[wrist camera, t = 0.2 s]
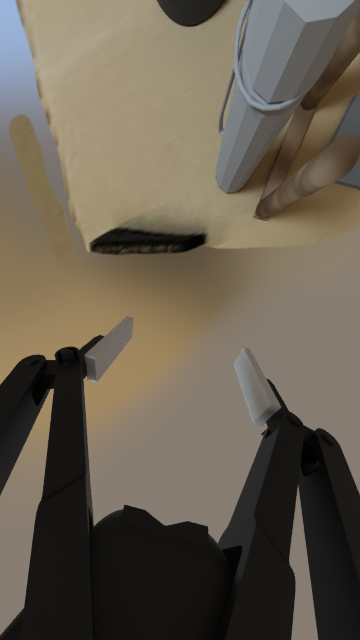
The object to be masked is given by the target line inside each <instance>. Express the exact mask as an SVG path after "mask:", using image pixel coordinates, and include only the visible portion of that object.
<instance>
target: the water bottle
mask: <svg viewBox="0 0 360 640" xmlns="http://www.w3.org/2000/svg"><path fill="white" fill-rule="evenodd" d="M359 8H360V0H247V1H246V3H245V5H244V7H243V9H242V11H241V14H240V19H239V23H238V28H237V32H236V37H235V41H234V68H233V71H232V75H231V78H230V82H229V85H228V89H227V92H226V96H225V99H224V103H223V106H222V110H221V113H220V117H219V134H220V136H221V137H223V140H222V145H221V149H220V154H219V158H218V163H217V170H216V180H217V183H218V185H219V188H220V189H222V190H223V191H224V192H226V193H232V192H236V191H237V190H239V189H240V188H242V187H243V186H244V185H245V183H246V182H247V180H248V179H249V177H250V176H251V174H252V173H253V171H254V170H255V169H256V167H257V166H258V164H259V163H260V161H261V160H262V158H263V157H264V155H265V154H266V152H267V151H268V150H269V148H270V147H271V145H272V144H273V142H274V141H275V139H276V138H277V136H278V135H279V133H280V132H281V131H282V129H283V128H284V126H285V125H286V123H287V122H288V120H289V119H290V117H291V116H292V114H293V113H294V112H295V110H296V109H297V107H298V106H299V104H300V103H301V101H302V100H303V98H304V97H305V95H306V94H307V92H308V91H309V90H310V89H311V88H312V87H313V85H314V84H315V83H316V81H317V80H318V78H319V77H320V76H321V74H322V73H323V72H324V70H325V68H326V67H327V65H328V63H329V62H330V60H331V59H332V56H333V54H334V52H335V50H336V48H337V46H338V44H339V42H340V40H341V38H342V37H343V35H344V33H345V32H346V30H347V28H348V27H349V25H350V23H351V22H352V20H353V18H354V17H355V15H356V13H357V12H358V10H359ZM246 13H247V15H246ZM245 16H246V19H247V22H246V25H245V29H244V32H243V36H242V39H241V43H240V46H239V40H240V34H241V29H242V25H243V22H244V18H245ZM240 56H241V57H240ZM239 60H240V62H239ZM235 75H236V81H235V86H234V91H233V95H232V100H231V104H230V109H229V113H228V118H227V122H226V127H225V130H224V129H223V115H224V110H225V107H226V104H227V100H228V97H229V93H230V90H231V87H232V83H233V80H234V77H235Z"/></svg>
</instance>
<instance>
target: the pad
mask: <svg viewBox="0 0 360 640" xmlns="http://www.w3.org/2000/svg"><path fill="white" fill-rule="evenodd" d="M345 134H354V135H356V136H357V137H358V138H359V140H360V95H356V96H355V97H354V98H353V99H352V101H351V103H350V104H349V106H348V108H347V110H346V112H345V114H344V116H343V118H342V120H341V122H340V124H339V126H338V128H337V130H336V132H335V134H334V136H333V138H332V140H331V142H330V144H331V143H332V142H333V141H334V140H336V139H337V138H339V137H340V136H342V135H345ZM330 144H329V145H330ZM334 183H338V184H341V185H345V186H349V187H352V188H356V189H360V155H359V158H358V160H357V162H356V164H355V166H354V167H353V168H352V170H351V171H350V172H349V173H348V174H347V175H346V176H344V177H343V178H341V179H340V180H338V181H336V182H334Z"/></svg>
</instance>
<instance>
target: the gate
mask: <svg viewBox="0 0 360 640" xmlns="http://www.w3.org/2000/svg"><path fill="white" fill-rule="evenodd" d="M359 52H360V8H359V10H358V12H357V13H356V15H355V17H354V18H353V20H352V22H351V23H350V25H349V27H348V28H347V30H346V32H345V33H344V35H343V37H342V38H341V40H340V42H339V44H338V46H337V48H336V50H335V52H334V54H333V56H332V59H331V60H330V62H329V63H328V65H327V67H326V68H325V70H324V72H323V73H322V74H321V76H320V77H319V78H318V80H317V81H316V83H315V84H314V85H313V87H312V88H311V89H310V90H309V91H308V92H307V94H306V95H305V97H304V98H303V100H302V101H301V103H300V104H299V106H298V107H297V109H296V110H295V112H294V115H293V117H292V120H291V122H290V125H289V127H288V130H287V132H286V135H285V138H284V140H283V143H282V145H281V148H280V150H279V153H278V155H277V158H276V160H275V163H274V165H273V168H272V171H271V173H270V176H269V178H268V181H267V183H266V186H265V188H264V191H263V193H262V196H261V198H260V201H259V204H258V205H257V208H256V211H255V214H254V216H253V218H256V219H260V220H264V221H266V220H267V218H268V216H270V215H272V214H274V213H276V212H278V211H280V210H282V209H284V208H286V207H288V206H290V205H292V204H293V203H295V202H297V201H299V200H301V199H303V198H305V197H307V196H309V195H311V194H313V193H315V192H317V191H319V190H320V189H322V188H324V187H326V186H328V185H330V184H332V183H334V182H336V181H338V180H340V179H341V178H343V177H344V176H346V175H347V174H348V173H349V172H350V171H351V170H352V168H353V167H354V166H355V164H356V162H357V160H358V158H359V155H360V140H359V138H358V137H357V136H356V135H354V134H345V135H342V136H340V137H339V138H337V139H336V140H334V141H333V142H332V143H331V144H330V145H328V146H327V147H326V148H325V149H323V150H322V151H321V152H320V153H319V154H317V155H316V156H315V157H314V158H313V159H311V160H310V161H309V162H308V163H306V164H305V165H304V166H303V167H302V168H300V169H299V170H298V171H297V172H296V173H294V174H293V175H292V176H291V177H289V178H288V179H287V180H286V181H285V182H284V179H285V177H286V175H287V173H288V170H289V168H290V166H291V163H292V161H293V159H294V156H295V154H296V152H297V150H298V147H299V145H300V143H301V140H302V138H303V136H304V133H305V131H306V129H307V127H308V124H309V122H310V120H311V117H312V115H313V113H314V110H315V108H316V106H317V104H318V103H319V102H320V101H321V99H322V98H323V97H324V96H325V94H326V93H327V92H328V91H329V90H330V88H331V87H332V86H333V85H334V83H335V82H336V81H337V80H338V78H339V77H340V76H341V75H342V73H343V72H344V71H345V70H346V68H347V67H348V66H349V65H350V64H351V62H352V61H353V60H354V59H355V57H356V56H357V55H358V54H359Z"/></svg>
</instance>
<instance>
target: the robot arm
mask: <svg viewBox="0 0 360 640" xmlns="http://www.w3.org/2000/svg"><path fill="white" fill-rule="evenodd" d="M157 1H158V3H159V5H160V6H161V8H162V9H163V11H164V12H165V13H166V14H167V15H168V16H169V17H170V18H171V19H172V20H174V21H175V22H177V23H179V24H182V25H195V24H198V23H200V22H202V21H204V20H206V19H207V18H208V17H209V16H211V15H212V14H213V13H214V12H215V11H216V10H217V8H218V7H219V6H220V5H221V3H222V2H223V0H157ZM133 319H134V318H132V317H128V316H127V317H126V318H125V319H124V320H122V321H121V322H120V323H119V324H118V325H117V326H116V327H115V328H114V329H112V330H111V331H110V332H109V333H108V334H107V335H106V336H101V335H99V336H97V337H94V338H93V339H92V340H91V341H90V342H88V343H87V344H86V345H85V346H83V347H82V348H81V349H80V350H78V348H76V347H65V348H62V349H60V350H58V351H57V352H56V353H55V358H56V360H46V358H45V356H43V355H32V356H29V357H26V358H24V359H22V360H21V361H20V362H19V363H18V364H17V365H16V366H15V368H14V369H13V370H12V371H11V373H10V374H9V375H8V376H7V377H6V379H5V380H4V381H3V382H2V384H1V385H0V495H1V493H2V490H3V488H4V486H5V484H6V482H7V480H8V478H9V476H10V474H11V471H12V469H13V467H14V465H15V463H16V461H17V459H18V457H19V454H20V452H21V450H22V448H23V446H24V444H25V442H26V440H27V437H28V435H29V433H30V431H31V429H32V427H33V425H34V423H35V420H36V418H37V416H38V414H39V412H40V410H41V408H42V406H43V404H44V402H45V399H46V397H47V395H48V393H49V391H50V389H54V394H53V403H52V413H51V422H50V432H49V440H48V450H47V459H46V468H45V477H44V486H43V494H42V499H41V501H40V503H39V505H38V509H37V513H36V519H35V525H34V534H33V542H32V550H31V558H30V566H29V574H28V582H27V590H26V599H25V607H24V608H23V610H22V611H21V612H20V613H19V614H18V615H17V617H16V618H15V619H14V620H13V621H12V623H11V624H10V625H9V626H8V627H7V628H6V629H5V631H4V632H3V633H2V634H1V635H0V640H291V634H292V623H293V612H294V600H295V576H294V572H293V570H292V568H291V566H290V564H289V554H290V545H291V537H292V529H293V520H294V512H295V504H296V496H297V488H298V486H299V493H300V501H301V508H302V516H303V524H304V532H305V540H306V547H307V555H308V563H309V570H310V578H311V586H312V593H313V602H314V609H315V617H316V625H317V633H318V640H360V494H359V492H358V489H357V487H356V484H355V482H354V479H353V477H352V474H351V472H350V469H349V467H348V464H347V462H346V459H345V457H344V454H343V452H342V449H341V447H340V445H339V444H338V442H337V441H336V440H335V438H334V437H333V436H332V435H331V434H329V433H328V432H326V431H325V430H323V429H320V428H318V429H316V430H315V431H313V430H311V429H310V428H308V427H306V426H304V425H303V423H302V422H301V420H300V419H299V418H298V417H297V416H296V415H294V414H293V413H291V412H289V411H288V409H287V407H286V405H285V403H284V402H283V400H282V398H281V397H280V395H279V393H278V391H277V390H276V388H275V386H274V385H273V383H272V382H271V381H270V380H269V379H266V378H265V376H264V374H263V372H262V370H261V368H260V367H259V365H258V363H257V361H256V359H255V357H254V356H253V354H252V352H251V350H250V349H248V348H245V347H243V349H242V351H241V352H240V354H239V356H238V358H237V359H236V361H235V363H234V367H235V370H236V373H237V376H238V379H239V382H240V385H241V388H242V391H243V395H244V398H245V401H246V404H247V407H248V410H249V413H250V416H251V419H252V422H253V424H256V425H259V426H263V425H264V424H265V423H267V426H268V428H267V429H266V430H265V431H264V432H263V433H262V434H261V435H264V436H263V439H262V441H261V444H260V446H259V449H258V452H257V454H256V457H255V459H254V462H253V464H252V467H251V470H250V472H249V475H248V477H247V480H246V482H245V485H244V488H243V490H242V492H241V495H240V498H239V500H238V503H237V506H236V508H235V510H234V513H233V516H232V518H231V521H230V523H229V525H228V527H227V528H226V530H225V531H224V533H223V534H222V536H221V538H220V540H219V542H218V544H217V542H216V541H215V540H214V539H213V538H212V537H211V536H210V535H209V534H208V527H207V526H204V525H200V524H196V523H192V522H189V521H186V522H182V523H177V524H173V525H168V526H165V525H163V524H162V523H160V522H159V521H158V520H157V519H155V518H154V517H153V516H151V515H150V514H149V513H148V512H147V511H146V510H142V509H139V508H135V507H131V506H128V505H124V508H123V510H118V511H115V512H113V513H111V514H109V515H107V516H106V517H104V518H103V519H102V520H101V521H99V522H98V523H97V524H96V525H95V526H94V523H93V509H92V498H91V487H90V473H89V458H88V444H87V443H88V442H87V430H86V429H87V427H86V412H85V397H84V382H83V379H84V378H85V377H86V376H87V379H88V380H89V381H93V382H97V381H98V380H99V379H100V378H101V376H102V375H103V374H104V372H105V371H106V370H107V368H108V367H109V366H110V365H111V363H112V362H113V361H114V360H115V358H116V357H117V356H118V354H119V353H120V352H121V350H122V349H123V348H124V347H125V345H126V344H127V343H128V341H129V340H130V339H131V338H132V331H133Z"/></svg>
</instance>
